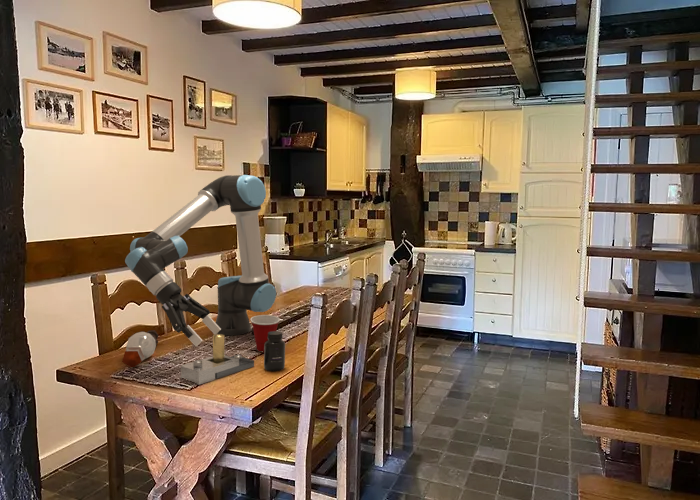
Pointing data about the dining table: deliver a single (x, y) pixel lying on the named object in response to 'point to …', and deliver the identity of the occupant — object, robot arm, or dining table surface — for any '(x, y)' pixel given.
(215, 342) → the brass pin
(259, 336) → the plastic cup
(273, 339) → the supplement bottle
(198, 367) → the grey socket block
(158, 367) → the dining table surface
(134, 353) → the potion bottle
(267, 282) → the robot arm
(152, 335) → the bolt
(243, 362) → the lower chain end
